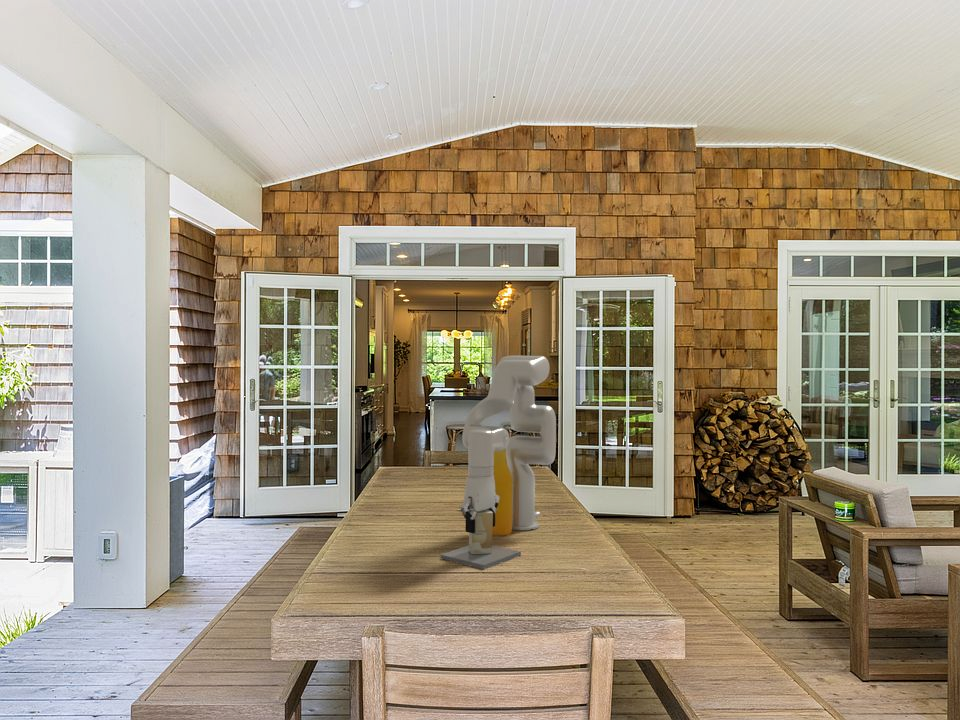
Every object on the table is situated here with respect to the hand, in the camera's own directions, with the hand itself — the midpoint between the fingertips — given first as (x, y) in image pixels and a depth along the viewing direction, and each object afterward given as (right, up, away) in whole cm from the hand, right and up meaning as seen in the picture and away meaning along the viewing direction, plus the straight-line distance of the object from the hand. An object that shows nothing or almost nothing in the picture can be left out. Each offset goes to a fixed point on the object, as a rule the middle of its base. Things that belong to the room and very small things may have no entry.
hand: (480, 529), depth 208 cm
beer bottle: (+6, -8, +29) cm, 31 cm away
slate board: (0, -8, -1) cm, 8 cm away
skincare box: (0, -7, 0) cm, 7 cm away
